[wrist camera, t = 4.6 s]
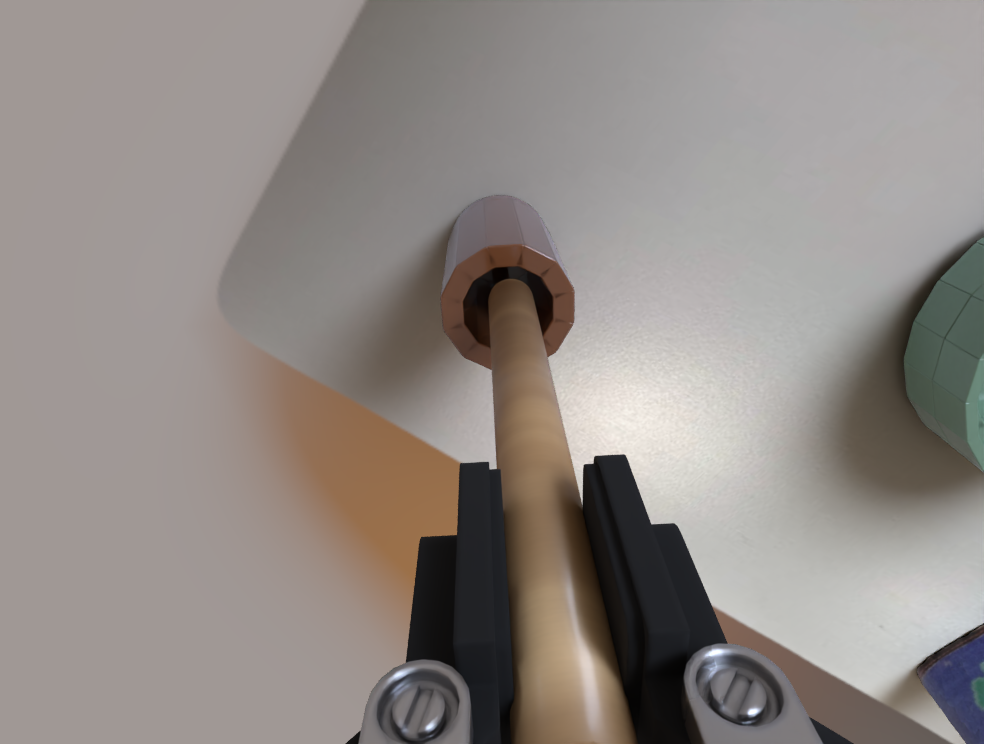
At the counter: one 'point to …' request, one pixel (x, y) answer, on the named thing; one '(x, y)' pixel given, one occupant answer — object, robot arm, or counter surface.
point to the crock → (502, 274)
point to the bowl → (951, 357)
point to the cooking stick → (548, 550)
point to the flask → (959, 684)
